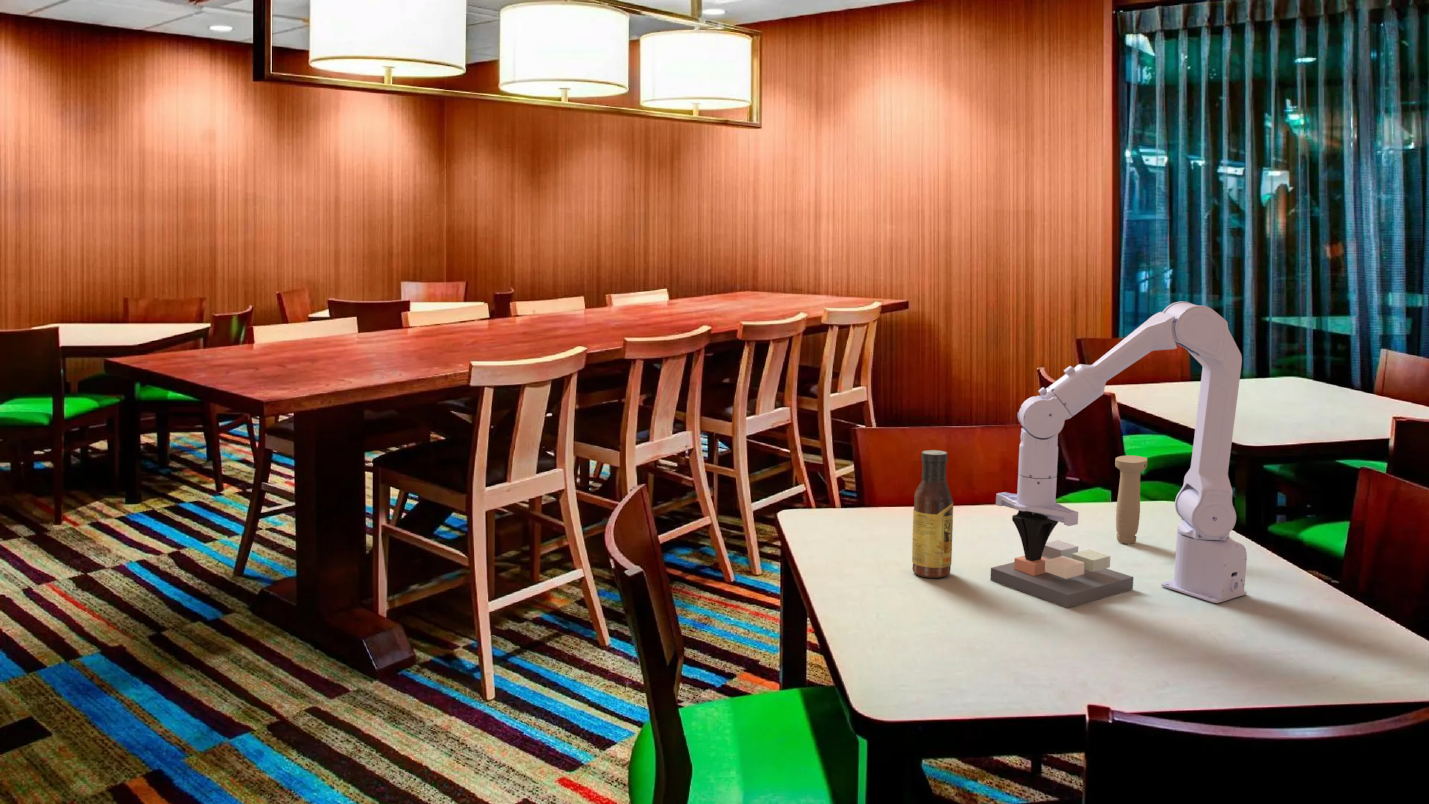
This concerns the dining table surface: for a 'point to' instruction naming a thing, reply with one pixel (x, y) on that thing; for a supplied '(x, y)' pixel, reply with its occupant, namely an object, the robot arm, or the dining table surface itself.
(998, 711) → the dining table surface
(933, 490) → the sauce bottle
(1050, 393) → the robot arm
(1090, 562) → the key sage
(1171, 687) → the dining table surface
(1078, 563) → the key cream
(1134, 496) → the handle
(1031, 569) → the key terracotta
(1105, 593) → the keypad base
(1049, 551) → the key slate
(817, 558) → the dining table surface
